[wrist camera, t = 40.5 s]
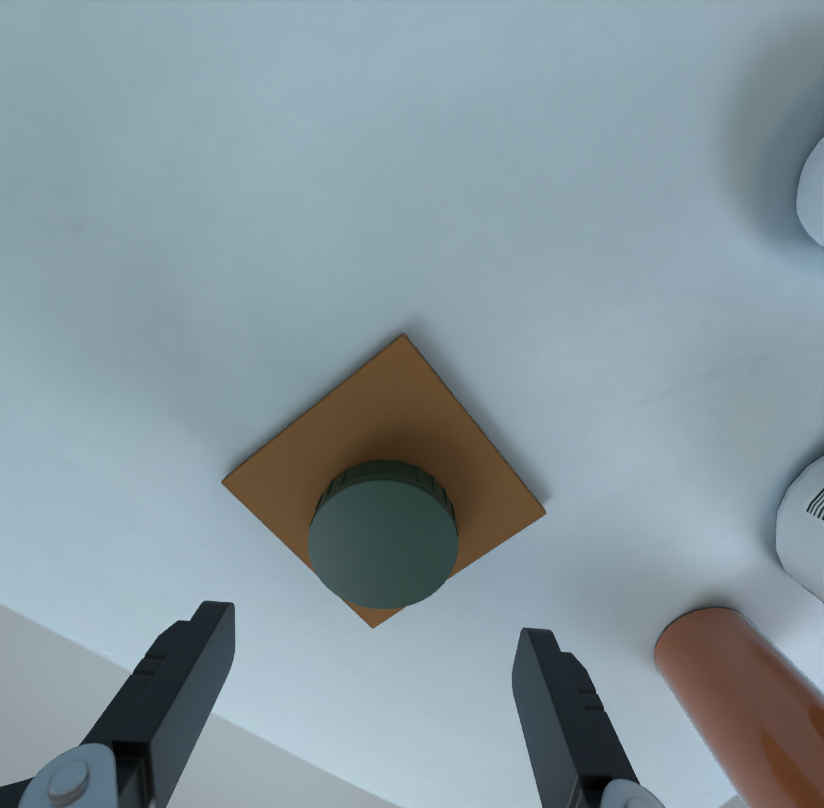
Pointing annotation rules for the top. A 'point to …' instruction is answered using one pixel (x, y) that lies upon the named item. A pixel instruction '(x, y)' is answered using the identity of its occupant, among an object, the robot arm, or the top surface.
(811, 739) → the jar
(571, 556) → the top surface
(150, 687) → the robot arm
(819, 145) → the plain white apple
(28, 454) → the top surface
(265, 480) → the coaster
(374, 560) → the lid
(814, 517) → the supplement can
